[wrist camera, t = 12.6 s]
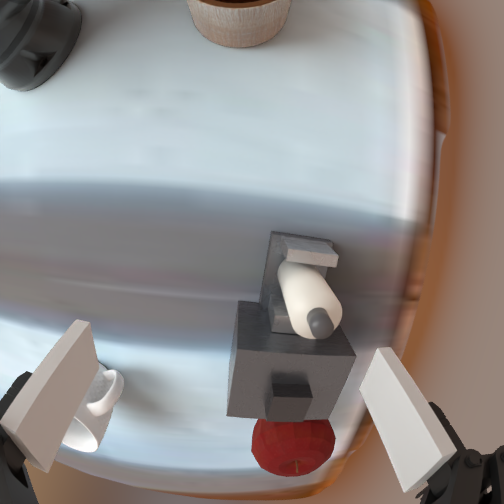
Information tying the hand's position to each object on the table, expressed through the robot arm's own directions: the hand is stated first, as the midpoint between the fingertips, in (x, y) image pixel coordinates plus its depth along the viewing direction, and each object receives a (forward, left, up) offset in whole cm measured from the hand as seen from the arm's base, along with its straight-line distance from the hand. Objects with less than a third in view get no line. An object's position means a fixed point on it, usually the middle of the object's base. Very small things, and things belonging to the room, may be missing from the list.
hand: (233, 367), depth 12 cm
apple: (+26, +11, -22) cm, 36 cm away
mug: (+25, -20, -22) cm, 39 cm away
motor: (+10, +7, -22) cm, 25 cm away
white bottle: (+3, +7, -20) cm, 22 cm away
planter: (-27, -4, -22) cm, 35 cm away
